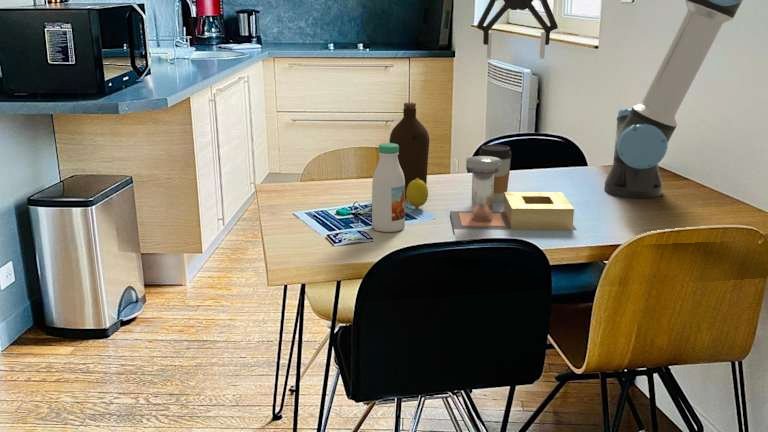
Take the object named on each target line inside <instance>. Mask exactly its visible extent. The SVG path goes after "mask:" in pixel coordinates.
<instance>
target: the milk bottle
mask: <svg viewBox="0 0 768 432" xmlns="http://www.w3.org/2000/svg"><path fill="white" fill-rule="evenodd" d="M398 152H399V146H398V145H397V144H394V143H390V142H387V143H386V142H385V143H381V144H378V155H379V160H378V163H377V166H376V168H375V170H374V172H373V176H372V181H371V183H372V184H371V185H372V186H371V197H372V198H371V223H372V224H371V225H372V228H373V229H374V230H375V231H377V232H383V233H395V232H399V231H403V229H405V226H406V225H405V224H406V199H405V178H404V174H403V171H402V169H401V167H400V164H399V161H398V154H399V153H398Z"/></svg>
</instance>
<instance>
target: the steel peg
mask: <svg viewBox="0 0 768 432" xmlns="http://www.w3.org/2000/svg"><path fill="white" fill-rule="evenodd" d="M465 161H466V167H465V170H466V171H467V172H469V173H472V176H471V177H472V180H471V207H470V209H471V220H473V221H476V222H490V221H492V213H493V212H494V211H493V210H494V209H493V208H494V202H493V190H494V173H498V172H500V171H501V159H499V158H496V157H490V156H479V155H478V156H477V155H475V156H469V157H467V158H466V160H465Z"/></svg>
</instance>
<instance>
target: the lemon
mask: <svg viewBox="0 0 768 432" xmlns="http://www.w3.org/2000/svg"><path fill="white" fill-rule="evenodd" d="M406 196H407V199H406V201H407V202H408V204H410V206H413V207H414V208H415V209H419V208H420V207H422V206H424V205H425V204H426V203H427V201H428V197H429V190H428V185H427V186H426V184H425V183H424V182H423V181H422V180H419V178H416V179H415V180H413V181H411V182H410V183H409V185H408V187H407V191H406Z"/></svg>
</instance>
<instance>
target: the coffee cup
mask: <svg viewBox="0 0 768 432" xmlns="http://www.w3.org/2000/svg"><path fill="white" fill-rule="evenodd" d="M478 156H490V157H496V158H499V159H501V171H500V172H498V173H494V190H493V203H494V202H495V203H497V202H498V203H499V202H504V192H508V188H509V178H510V169H511V160H512V159H511V158H512V156H513V155H512V151H511V147H510V146H508V145H503V144H486V145H482V146H481V147H480V150H479V155H478Z"/></svg>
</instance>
